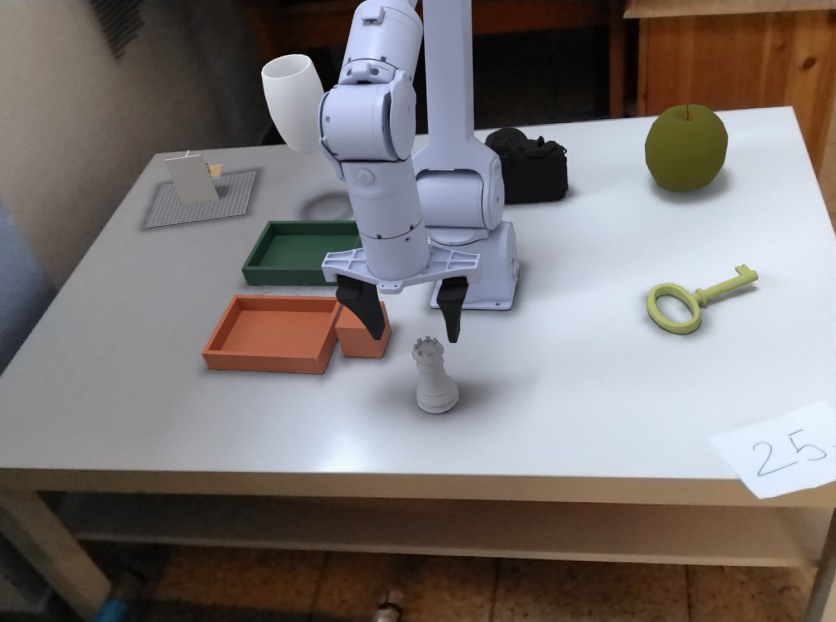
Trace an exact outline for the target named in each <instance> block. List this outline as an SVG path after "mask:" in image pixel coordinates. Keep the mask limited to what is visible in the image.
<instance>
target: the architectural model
mask: <svg viewBox="0 0 836 622" xmlns="http://www.w3.org/2000/svg"><path fill="white" fill-rule="evenodd" d="M189 153H190V149H189V150H188V149H187V152H186V153H185V155H184V156H182V157H174V158H168V159H163V162H164V164H165V166H166V167H165V168H167V172H168V174H169V176H170V178H171V182H172V183H165V184H161V186H160V189H159V191H158V194H157V195H156V199H155V201H154V203H153V206H152V209H151V212H150V214H149V216H148V218H147V221H146V224H145V226H144V229H148V228H157V227H163V226H169V225H178V224H183V223H191V222H198V221H205V220H213V219H219V218H226V217H234V216H241V215H246V211H247V207H248V204H249V200H250V197H251V193H252V189H253V185H254V182H255V178H256V174H257V170H254V171H247V172H246V171H245V172H240V173H232V174H226V175H222V172H223V169H224V164H223V163H220V164H214V165H209V164H208V162H205V160H204V157H203V154H201V153H200V154H194V155H189Z"/></svg>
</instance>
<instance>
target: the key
mask: <svg viewBox="0 0 836 622" xmlns="http://www.w3.org/2000/svg"><path fill="white" fill-rule="evenodd" d="M734 271H735V272H736V273H737V274H738V275H737V276H734V277H732V278H730V279H727V280H725V281H723V282H719V283H717V284H715V285H712V286H709V287H707V288H704V289H702V288H699V287H698V288H696V289H695V290H694V293H690V292H689V291H688V290H687V289H686V288H684V287H682V286H681V285H678V284H676V283H671V282H664V283H660V284H657V285H655V286H653V287H652V288H651V289H650V290H649V292H648V294H647V297H646V309H647V312H648V314H649V315H650V317H651V318H652V319H653V320H654V322H655V323H657V324H658V326H660V327H661V328H663V329H664V330H666V331H669V332H670V333H673V334H679V335H685V334H690V333H692V332H693V331H695V330H696V329H697V328H698V327H699V326H700V323H701V319H702V317H701V316H702V312H701V308H700V306H706V305H707V303H708V301H709V300H712V299H714V298H717V297H719V296H722V295H725V294H727V293H729V292H731V291H733V290H737V289H739V288H741V287H744V286H746V285H749V284H752V283H754V282H756V281H758V280H759V274H758V272H757V271H756V269H752V270H751V268H749V267H748V266H747V264H745V263H742V264H741V265H737V266H735V267H734ZM663 295H671V296H673V297H676V298H678V299H680V300H681V301H683V302H684V303H685V304H686V305H687V306H688V308H689V309H690V310H691V312H692V315H693V316H692V318H691V319H689V320H688V321H685V322H676V321H674V320H671V319H668V318H667V317H666V316H664V315H663V314H662V313H661V311H660V310H659V308H658V307H657V302H656V301H657V300H656V299H657V298H658V297H660V296H663ZM699 305H700V306H699Z"/></svg>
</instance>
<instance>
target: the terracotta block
mask: <svg viewBox="0 0 836 622" xmlns="http://www.w3.org/2000/svg"><path fill="white" fill-rule="evenodd" d="M379 301H380V304H381V308H382V311H383V315H384V320H385V329H384V332H383V334H382V337H381V340H374V339H373V337H372V336H371V334H370V333H369V331H368V330H367V328H366V327H365V326H364V324H363V323H362V322H361V321H360V319H359V318H358V317H357V316H356V315H355V314H354V313H353V312H352V311H351V310H349V309H348V308H347V307H345V306H344V307H343V309H342V312H341V314H340V316H339V319H338V321H337V324H336V326H335V329H336V332H337V335H338V341H339V344H340V347H341V350H342V353H343V357H349V358H377V359H382V358H383V356H384V353H385V351H386V348H387V345H388V342H389V339H390V336H391V333H392V326H391V324H390V319H389V316H388V311H387V308H386V305H385V300H379Z"/></svg>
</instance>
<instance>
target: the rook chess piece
mask: <svg viewBox="0 0 836 622" xmlns="http://www.w3.org/2000/svg"><path fill="white" fill-rule="evenodd" d="M424 337H425V339H422V338H421V337H419V338H418V339H416V343H413V348H412V350H411V357H412V359H413V361H415V362H416V364H415V366H416V368H417V370H419V378H420V379H419V380H418V385H417V386H416V392H415V393H416V394H415V395H416V402H417V404H418V407H419V408H421V409H422V410H423V411H424V412H427V413H431V414H443V413H446V412H448V411H450V410H451V409H452V408H453V407H455V405H456V404H457V402H458V400H459V397H460V391H459V389H458V386H457V384H456V381H455V380H454V379H453V378H452V377H451V375H448V374H447V372H446V370H445V367H444V365H445V359H444V356H443V355H444V354H445V347H444V345H443V344H442V343H441V342H440V341H439V340H438V338H437V337H435V336H434V337H433V338H431V336H430V335H425V336H424Z"/></svg>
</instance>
